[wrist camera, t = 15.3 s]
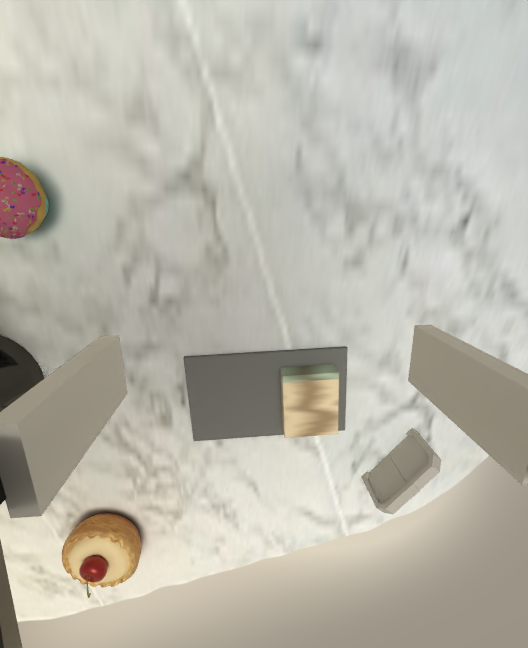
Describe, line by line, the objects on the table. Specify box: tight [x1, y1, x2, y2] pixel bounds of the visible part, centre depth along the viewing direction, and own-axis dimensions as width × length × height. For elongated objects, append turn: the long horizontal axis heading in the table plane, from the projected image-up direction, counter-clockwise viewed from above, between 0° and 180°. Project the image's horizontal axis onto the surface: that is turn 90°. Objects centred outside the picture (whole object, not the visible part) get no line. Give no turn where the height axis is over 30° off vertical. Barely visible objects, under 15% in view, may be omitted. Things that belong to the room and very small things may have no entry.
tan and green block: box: [280, 364, 339, 438], centre depth 49 cm, size 8×3×10 cm
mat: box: [184, 347, 347, 441], centre depth 50 cm, size 24×14×1 cm, turn 92°
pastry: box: [62, 513, 141, 598], centre depth 52 cm, size 12×12×9 cm
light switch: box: [362, 428, 441, 514], centre depth 51 cm, size 2×12×8 cm, turn 141°
